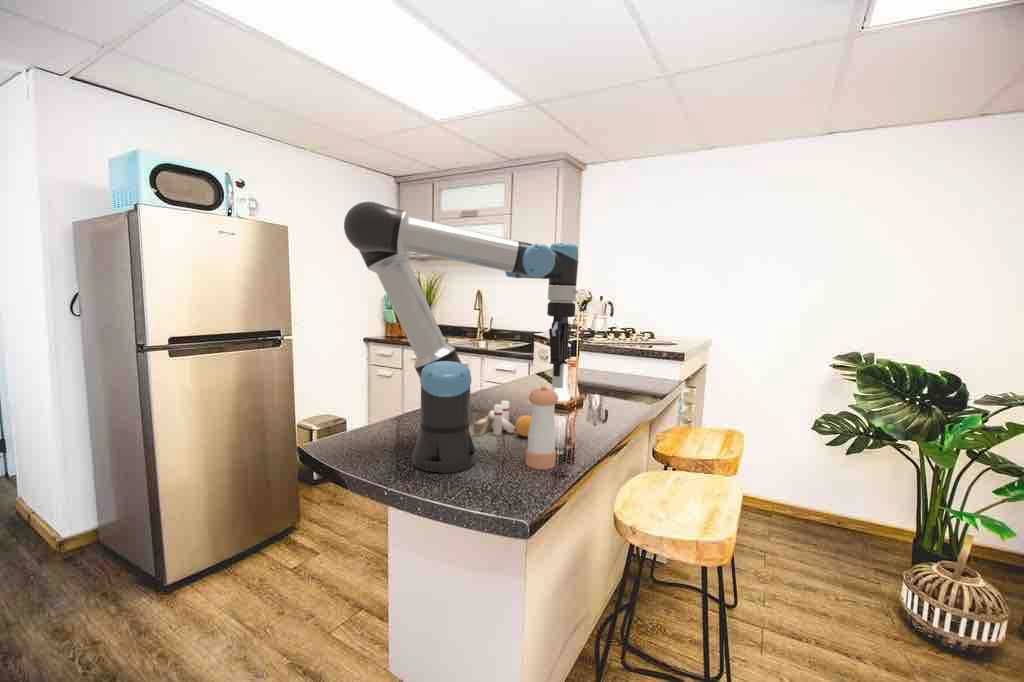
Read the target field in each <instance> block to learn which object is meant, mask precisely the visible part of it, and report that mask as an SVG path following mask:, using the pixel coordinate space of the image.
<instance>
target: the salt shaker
mask: <svg viewBox="0 0 1024 682" xmlns="http://www.w3.org/2000/svg"><path fill="white" fill-rule="evenodd" d="M528 400H529V402H530V403H531V413H530V414H531V415H530V416H531V423H530V428H529V433H528V436H527V447H526V449H525V465H526V467H529V468H531V469H535V470H541V471H542V470H550V469H553V468H555V466H556V458H557V450H556V449H555V448H556V447H555V446H556V428H555V405H556V404H557V403H558V401H559V396H558V394H557V392H556V391H554V390H552V389H549V388H548V387H547V386H544V385H543V386H541V387H540V388H537V389H534V390H531V392H530V393H529V394H528Z"/></svg>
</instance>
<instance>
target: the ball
mask: <svg viewBox="0 0 1024 682" xmlns="http://www.w3.org/2000/svg"><path fill="white" fill-rule="evenodd" d="M530 423H531V415H528V414H527V415H525V414H523V415H521V416H520V417H518V418H517V420H516V422H515V430H516V432H517V434H519V435H520V436H522V437H528V433H529V428H530Z"/></svg>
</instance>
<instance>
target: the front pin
mask: <svg viewBox="0 0 1024 682" xmlns="http://www.w3.org/2000/svg"><path fill="white" fill-rule="evenodd" d="M486 416H487V417H489V418H490V419H491V420H492V421H494V409H492V410H490V411H489V413H488V414H487V415H486ZM502 428H504V429H505V430H506V431H507V433H509V434H513V432H514V430H516V425H513V424H512V423H511V422H510V421H509V422H508V421H507V420H505V419H504V418H503V417H502ZM506 431H505V432H506Z"/></svg>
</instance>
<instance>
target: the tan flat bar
mask: <svg viewBox="0 0 1024 682" xmlns="http://www.w3.org/2000/svg"><path fill="white" fill-rule="evenodd" d="M487 416H488V415H486V416H484V417H482V418H481V419H479V420H477V421H476V422H474V423H473V434H472V435H473V436H475V437H479V438H480V437H481V436H483V435H485V433H487V432H489V431H491V430H492V429H493V428H494V421H492V420H491V419H490V418H489V417H487Z"/></svg>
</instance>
